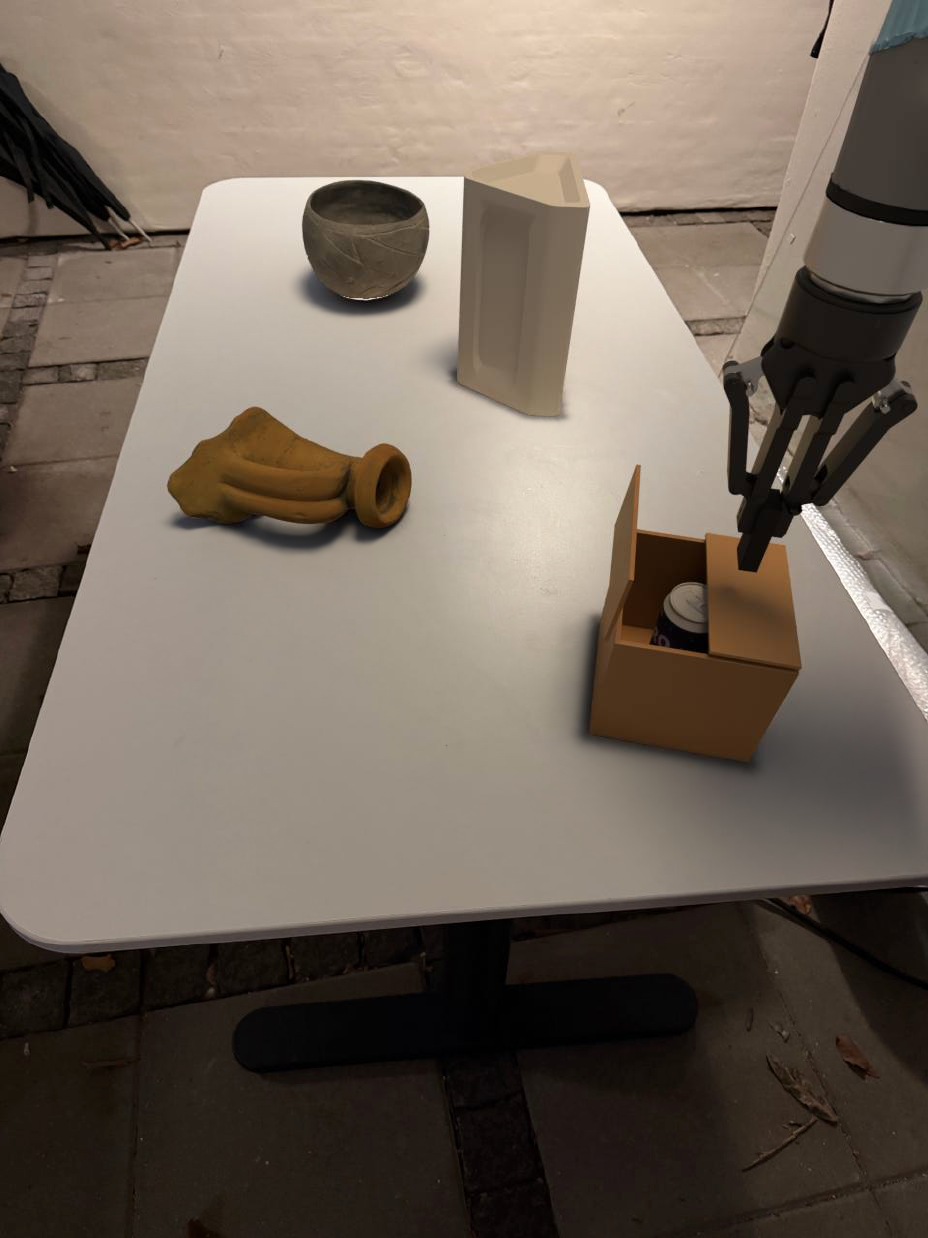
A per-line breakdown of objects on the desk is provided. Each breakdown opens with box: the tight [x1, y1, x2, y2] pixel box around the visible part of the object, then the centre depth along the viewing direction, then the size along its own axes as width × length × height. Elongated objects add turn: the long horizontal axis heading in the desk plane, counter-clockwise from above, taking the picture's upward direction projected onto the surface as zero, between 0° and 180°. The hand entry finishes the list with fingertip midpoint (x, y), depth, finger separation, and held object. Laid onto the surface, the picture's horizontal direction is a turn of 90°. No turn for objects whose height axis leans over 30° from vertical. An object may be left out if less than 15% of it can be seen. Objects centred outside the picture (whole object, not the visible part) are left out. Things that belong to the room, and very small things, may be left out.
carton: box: [588, 464, 800, 763], centre depth 71 cm, size 16×15×21 cm
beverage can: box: [649, 582, 711, 655], centre depth 74 cm, size 6×6×12 cm
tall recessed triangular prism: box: [456, 151, 591, 417], centre depth 106 cm, size 19×15×28 cm
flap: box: [704, 532, 803, 671], centre depth 68 cm, size 7×15×1 cm, turn 169°
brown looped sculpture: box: [166, 406, 413, 529], centre depth 90 cm, size 18×13×22 cm
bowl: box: [301, 179, 431, 299], centre depth 129 cm, size 21×21×15 cm
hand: (746, 560), depth 65 cm, fingers closed
